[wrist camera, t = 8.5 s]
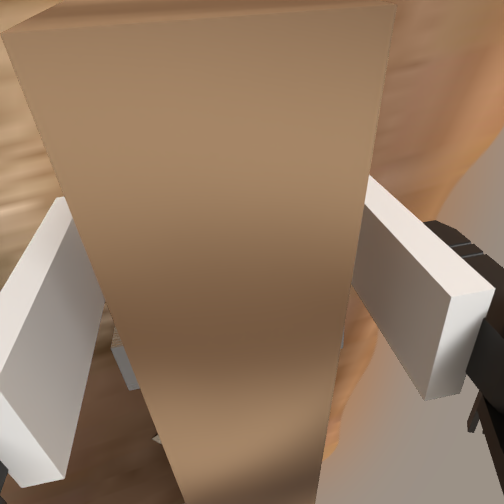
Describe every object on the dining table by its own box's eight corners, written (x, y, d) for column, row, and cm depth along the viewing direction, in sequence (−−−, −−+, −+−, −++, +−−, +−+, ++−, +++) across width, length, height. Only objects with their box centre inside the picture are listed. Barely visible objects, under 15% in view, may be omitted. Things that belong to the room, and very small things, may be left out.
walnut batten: (84, -11, 8) (-2, 33, 4) (284, -23, 8) (396, 4, 4) (212, 485, 22) (222, 596, 19) (279, 471, 23) (302, 577, 19)
